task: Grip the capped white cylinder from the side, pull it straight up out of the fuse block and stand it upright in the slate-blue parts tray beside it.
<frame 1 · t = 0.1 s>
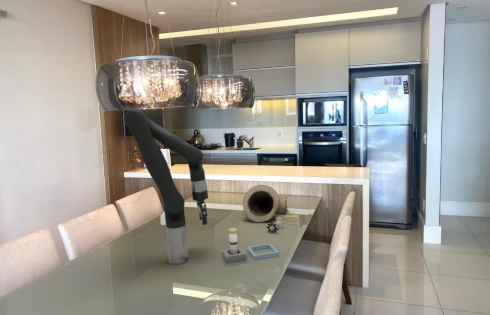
hand: (203, 221, 179), 17 cm above the table, tool pointing down, fingers open, 8 cm apart
parts tray: (262, 256, 177), on the table
valve: (276, 230, 214), on the table
fuse block: (234, 260, 174), on the table
pipe: (266, 216, 243), on the table
capped white cylinder: (234, 257, 173), point 1 cm above the table, touching fuse block
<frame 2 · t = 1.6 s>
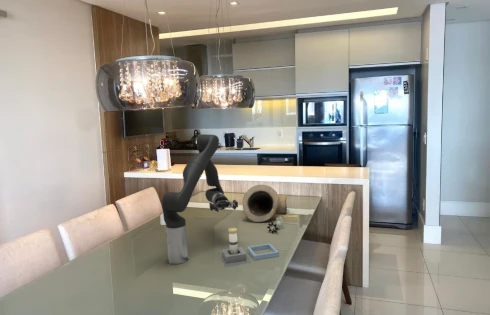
hand: (226, 208, 182), 22 cm above the table, tool horizontal, fingers open, 8 cm apart
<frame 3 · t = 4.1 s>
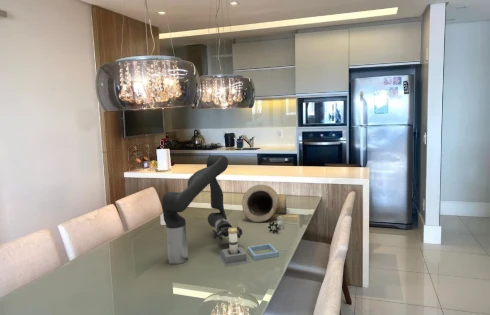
hand: (230, 237, 178), 10 cm above the table, tool horizontal, fingers open, 8 cm apart
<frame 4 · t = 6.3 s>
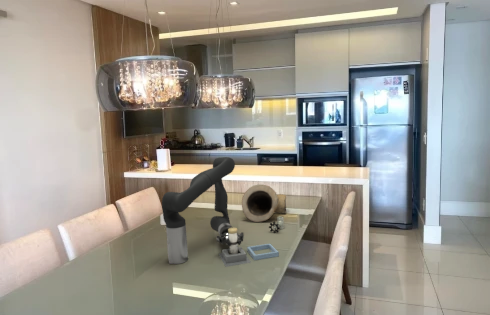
hand: (234, 243, 170), 9 cm above the table, tool horizontal, fingers closed on capped white cylinder, 4 cm apart
capped white cylinder: (234, 257, 173), point 2 cm above the table, touching fuse block, gripper
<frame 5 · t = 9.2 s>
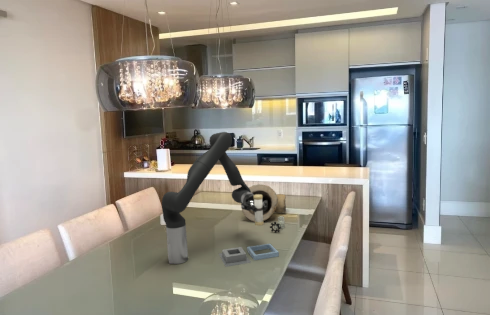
hand: (260, 209, 171), 24 cm above the table, tool horizontal, fingers closed on capped white cylinder, 4 cm apart
capped white cylinder: (259, 224, 175), point 16 cm above the table, touching gripper
when the fingers open (10 cm above the table, at t = 12.3 s): capped white cylinder drops 1 cm, resting on parts tray.
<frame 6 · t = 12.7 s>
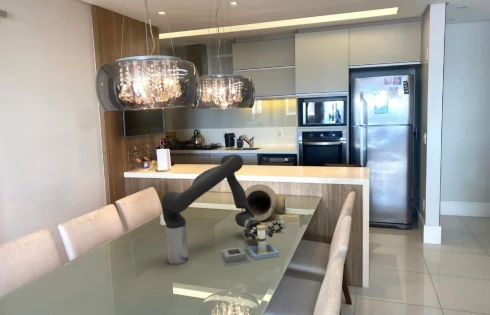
hand: (263, 236, 174), 11 cm above the table, tool horizontal, fingers open, 7 cm apart
capped white cylinder: (262, 254, 177), point 1 cm above the table, touching parts tray
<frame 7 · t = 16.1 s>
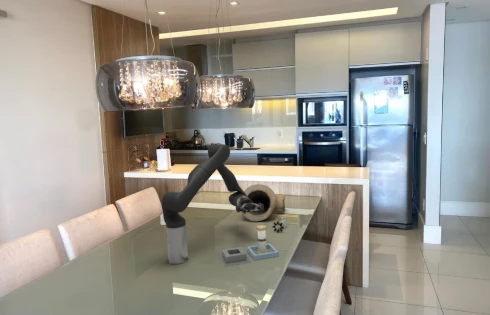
hand: (253, 210, 186), 19 cm above the table, tool horizontal, fingers open, 8 cm apart
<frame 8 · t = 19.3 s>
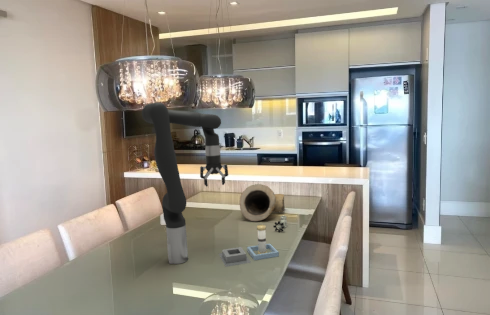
hand: (214, 185, 191), 32 cm above the table, tool pointing down, fingers open, 8 cm apart
at the end: capped white cylinder inside the target area on the parts tray (0.1 cm from its centre), point 1.0 cm above the parts tray's base; capped white cylinder tilted 0°; the gripper is holding nothing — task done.
